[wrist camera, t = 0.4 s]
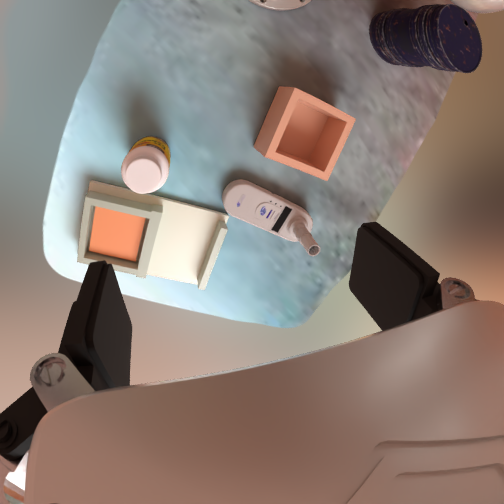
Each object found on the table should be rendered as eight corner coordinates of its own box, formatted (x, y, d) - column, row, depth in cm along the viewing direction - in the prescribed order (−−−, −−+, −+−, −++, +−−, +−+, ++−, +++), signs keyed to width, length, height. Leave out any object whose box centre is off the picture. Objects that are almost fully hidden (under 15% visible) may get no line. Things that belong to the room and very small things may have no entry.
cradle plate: (97, 202, 39) (95, 205, 38) (146, 214, 41) (146, 217, 41) (90, 247, 42) (89, 250, 41) (136, 257, 45) (135, 261, 44)
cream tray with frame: (91, 179, 38) (85, 187, 35) (228, 214, 46) (231, 223, 43) (80, 256, 43) (75, 268, 40) (202, 282, 51) (204, 295, 48)
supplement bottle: (173, 137, 38) (172, 153, 29) (167, 176, 40) (165, 203, 32) (133, 133, 36) (119, 148, 28) (128, 172, 39) (115, 199, 30)
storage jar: (405, 76, 39) (473, 88, 27) (361, 46, 36) (429, 44, 23) (420, 32, 35) (487, 34, 23) (378, 0, 31) (445, -12, 19)
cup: (279, 86, 37) (295, 87, 32) (334, 113, 41) (355, 119, 36) (253, 146, 41) (264, 156, 36) (309, 168, 45) (327, 180, 40)
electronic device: (244, 195, 35) (339, 241, 41) (232, 172, 43) (313, 212, 49) (223, 233, 37) (317, 271, 43) (215, 203, 45) (296, 238, 51)
